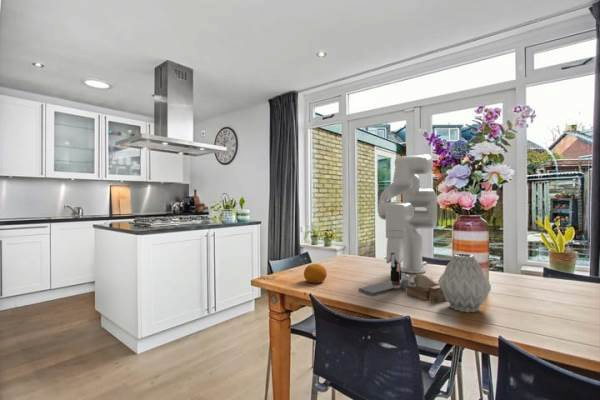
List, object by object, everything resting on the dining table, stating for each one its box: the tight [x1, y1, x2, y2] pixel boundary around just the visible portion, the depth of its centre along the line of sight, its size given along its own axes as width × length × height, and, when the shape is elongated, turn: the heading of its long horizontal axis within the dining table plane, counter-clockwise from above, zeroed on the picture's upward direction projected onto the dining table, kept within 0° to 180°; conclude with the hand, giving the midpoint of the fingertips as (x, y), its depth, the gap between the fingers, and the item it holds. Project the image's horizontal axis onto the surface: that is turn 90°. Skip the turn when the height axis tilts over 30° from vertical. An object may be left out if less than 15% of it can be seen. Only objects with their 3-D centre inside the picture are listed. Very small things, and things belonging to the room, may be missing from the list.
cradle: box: [405, 281, 446, 303], centre depth 124 cm, size 13×12×5 cm
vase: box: [437, 253, 492, 313], centre depth 109 cm, size 16×16×18 cm
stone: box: [413, 273, 437, 290], centre depth 125 cm, size 10×7×10 cm
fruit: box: [303, 263, 328, 284], centre depth 145 cm, size 10×10×8 cm
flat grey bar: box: [358, 280, 415, 297], centre depth 134 cm, size 26×8×2 cm, turn 124°
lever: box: [392, 262, 411, 290], centre depth 133 cm, size 21×6×11 cm, turn 151°
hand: (396, 279), depth 125 cm, fingers closed on lever, 3 cm apart
